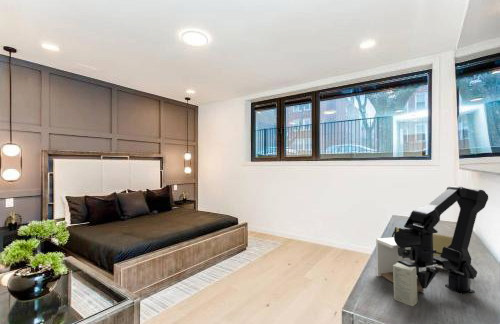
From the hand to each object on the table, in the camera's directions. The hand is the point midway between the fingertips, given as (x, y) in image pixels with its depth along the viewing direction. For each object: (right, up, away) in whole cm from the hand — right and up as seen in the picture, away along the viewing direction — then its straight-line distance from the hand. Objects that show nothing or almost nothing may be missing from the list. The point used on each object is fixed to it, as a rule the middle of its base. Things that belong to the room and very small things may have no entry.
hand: (423, 288), depth 90 cm
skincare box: (-9, -3, -4) cm, 10 cm away
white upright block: (-3, -3, +13) cm, 13 cm away
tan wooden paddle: (-2, -2, +9) cm, 9 cm away
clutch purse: (+20, -3, +27) cm, 34 cm away
